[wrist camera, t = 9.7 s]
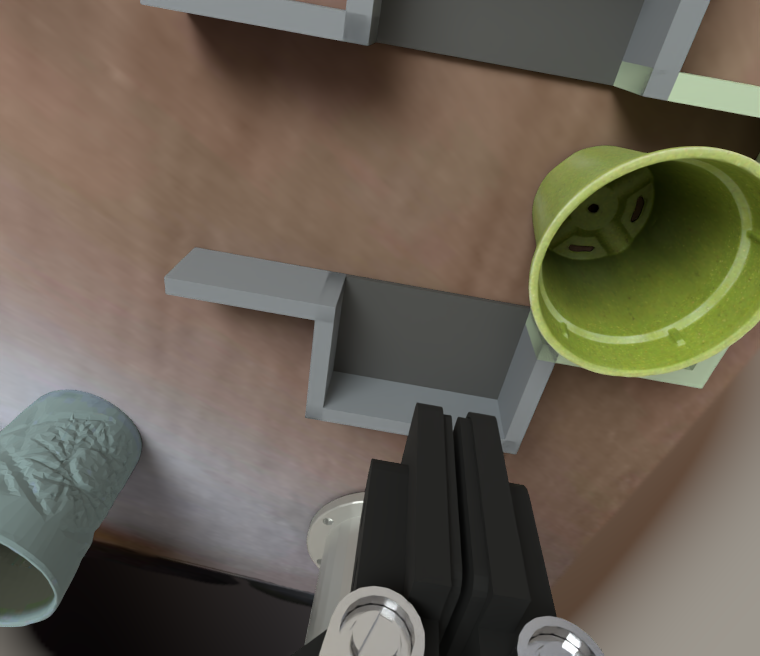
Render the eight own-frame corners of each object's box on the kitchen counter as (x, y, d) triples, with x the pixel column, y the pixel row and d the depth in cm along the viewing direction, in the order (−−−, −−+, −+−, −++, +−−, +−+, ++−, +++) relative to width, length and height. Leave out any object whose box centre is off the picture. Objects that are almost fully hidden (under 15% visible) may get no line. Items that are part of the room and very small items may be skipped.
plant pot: (718, 109, 23) (853, 150, 16) (658, 289, 28) (739, 384, 21) (515, 106, 24) (553, 144, 17) (491, 282, 29) (513, 372, 22)
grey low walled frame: (623, 430, 34) (644, 476, 30) (200, 356, 33) (174, 394, 30) (927, -103, 19) (1036, -130, 16) (171, -246, 19) (113, -306, 15)
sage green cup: (25, 455, 40) (-111, 602, 30) (16, 360, 35) (-152, 500, 25) (149, 489, 41) (58, 643, 31) (159, 402, 36) (53, 553, 26)
